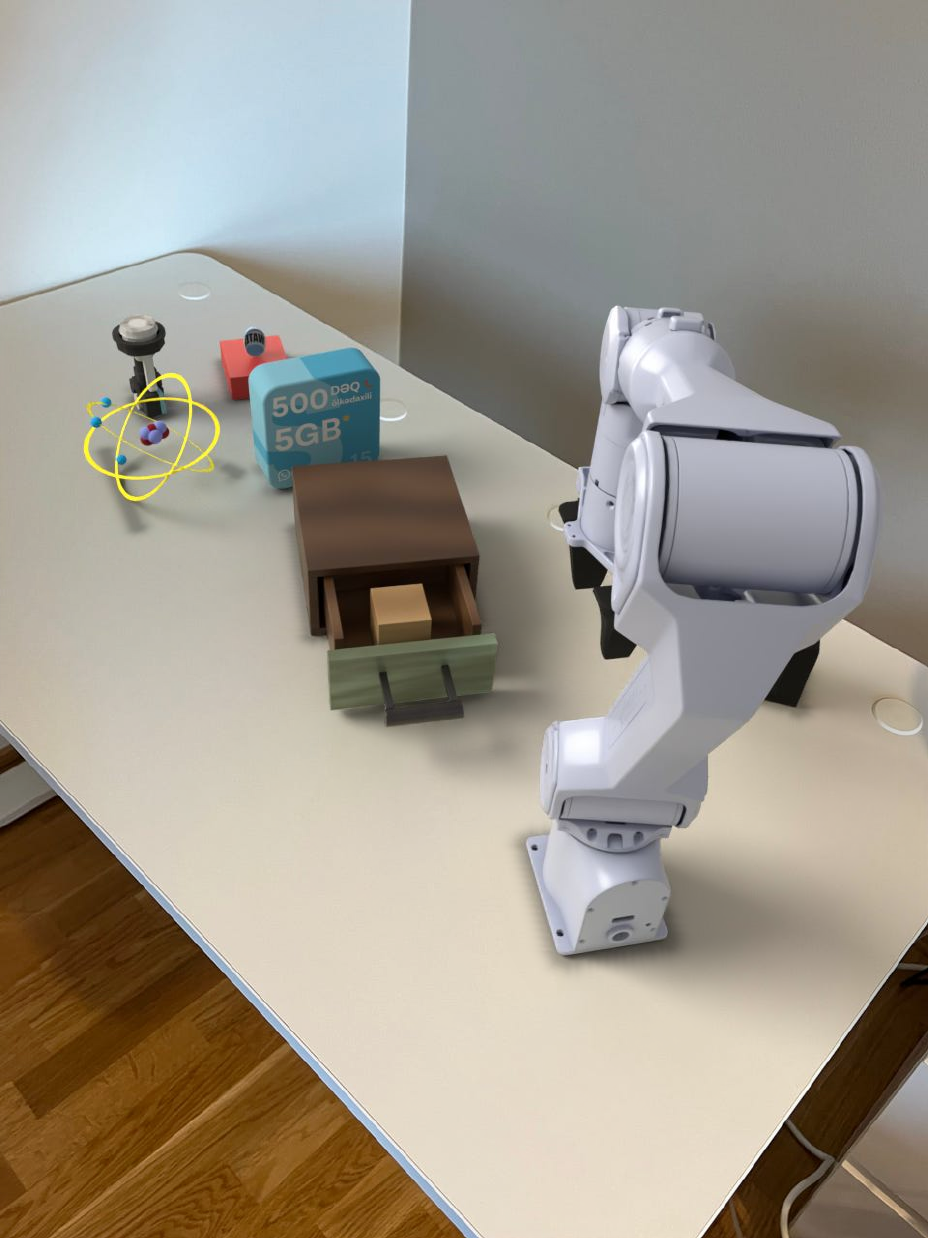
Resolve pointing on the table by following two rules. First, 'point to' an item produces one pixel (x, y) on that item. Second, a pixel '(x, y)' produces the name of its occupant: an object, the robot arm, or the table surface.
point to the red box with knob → (248, 358)
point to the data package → (314, 412)
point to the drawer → (407, 647)
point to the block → (399, 614)
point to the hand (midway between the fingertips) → (600, 619)
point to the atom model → (149, 437)
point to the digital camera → (794, 677)
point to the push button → (143, 358)
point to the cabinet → (378, 521)
